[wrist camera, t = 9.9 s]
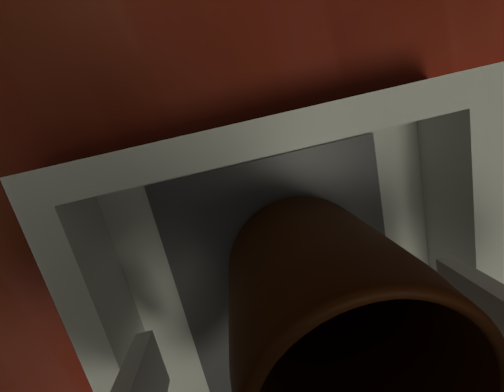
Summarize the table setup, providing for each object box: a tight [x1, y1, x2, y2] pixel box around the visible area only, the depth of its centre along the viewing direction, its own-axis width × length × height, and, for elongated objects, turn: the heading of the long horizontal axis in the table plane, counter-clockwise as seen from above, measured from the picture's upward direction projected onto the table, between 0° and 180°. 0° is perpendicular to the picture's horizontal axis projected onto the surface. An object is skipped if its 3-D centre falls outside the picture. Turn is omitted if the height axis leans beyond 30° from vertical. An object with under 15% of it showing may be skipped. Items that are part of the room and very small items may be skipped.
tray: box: [0, 62, 504, 392], centre depth 16 cm, size 20×18×4 cm
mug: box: [228, 196, 504, 392], centre depth 12 cm, size 12×8×9 cm, turn 144°
